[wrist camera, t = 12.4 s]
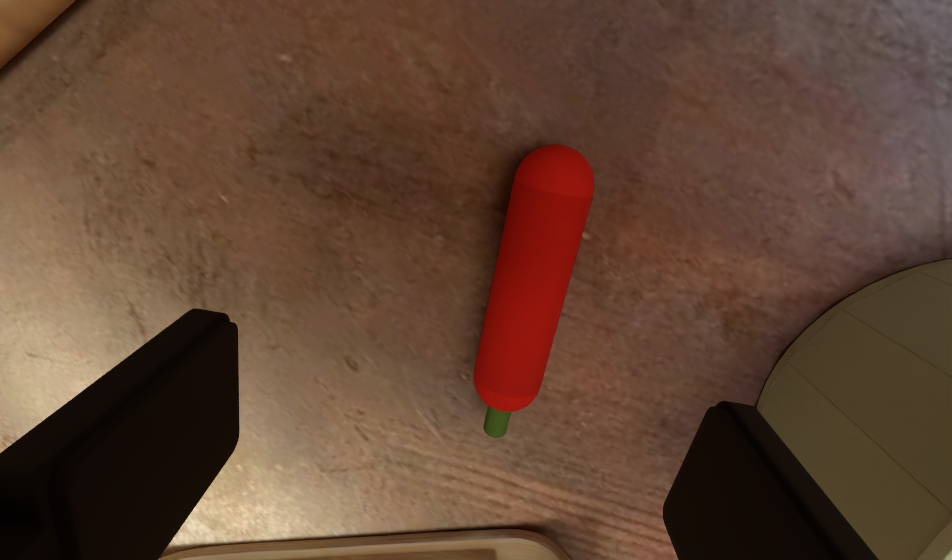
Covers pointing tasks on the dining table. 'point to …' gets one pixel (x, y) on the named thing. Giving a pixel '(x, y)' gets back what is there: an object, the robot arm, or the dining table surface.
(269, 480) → the dining table surface
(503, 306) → the chili pepper
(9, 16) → the spatula
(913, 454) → the pot
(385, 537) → the toy food set
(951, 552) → the pot lid
